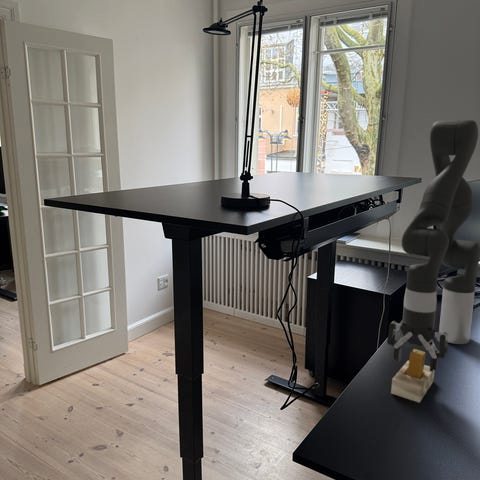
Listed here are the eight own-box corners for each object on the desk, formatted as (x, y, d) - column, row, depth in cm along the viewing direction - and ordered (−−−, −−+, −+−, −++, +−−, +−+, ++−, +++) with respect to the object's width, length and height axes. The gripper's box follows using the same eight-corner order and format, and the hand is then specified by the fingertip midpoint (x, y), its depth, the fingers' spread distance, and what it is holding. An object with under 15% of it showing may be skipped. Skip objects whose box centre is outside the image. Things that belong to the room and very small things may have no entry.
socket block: (406, 373, 122) (407, 360, 122) (433, 381, 118) (434, 367, 118) (391, 393, 112) (392, 379, 112) (419, 402, 108) (420, 387, 107)
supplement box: (419, 392, 113) (422, 356, 111) (405, 388, 115) (408, 352, 113) (422, 387, 115) (426, 351, 114) (409, 383, 117) (412, 348, 116)
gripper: (453, 307, 110) (447, 368, 113) (396, 296, 118) (392, 353, 121) (446, 316, 104) (440, 379, 107) (386, 304, 112) (382, 363, 115)
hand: (414, 365), depth 114 cm, fingers open, 8 cm apart
